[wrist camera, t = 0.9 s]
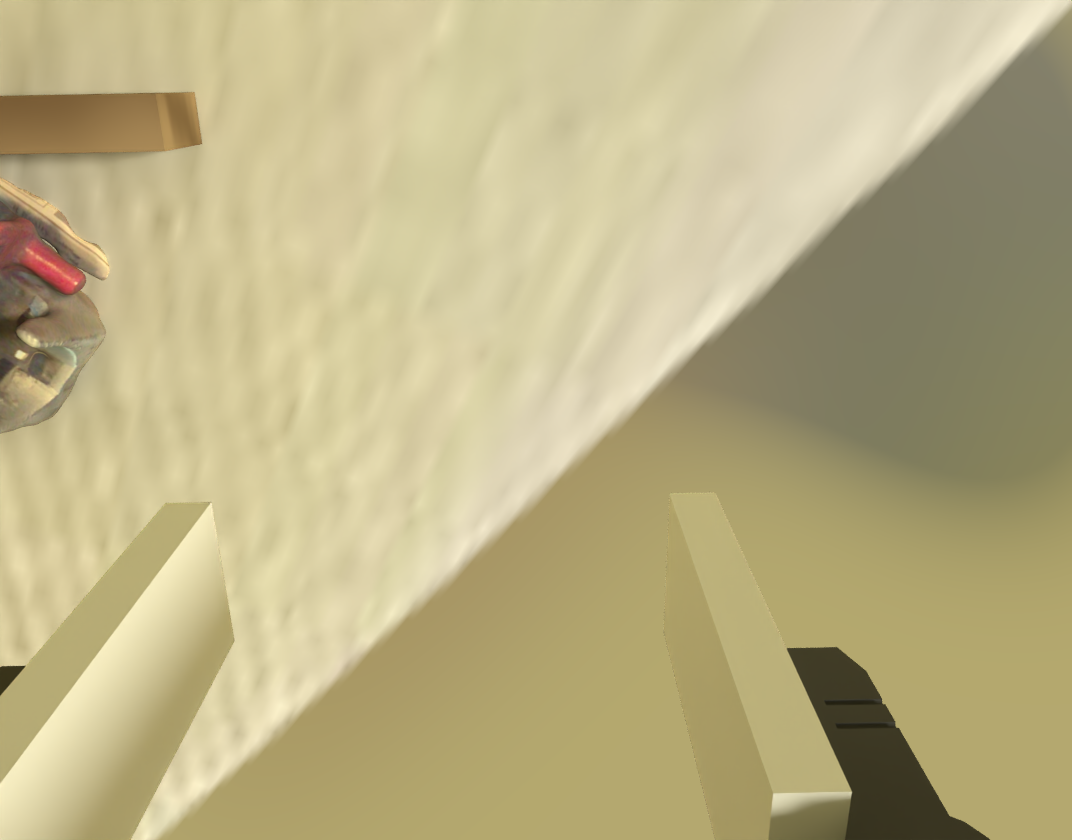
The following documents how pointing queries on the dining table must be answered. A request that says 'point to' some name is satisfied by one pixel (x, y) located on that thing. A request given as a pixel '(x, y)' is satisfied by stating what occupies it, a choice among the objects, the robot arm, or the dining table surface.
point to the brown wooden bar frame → (98, 123)
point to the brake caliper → (42, 308)
